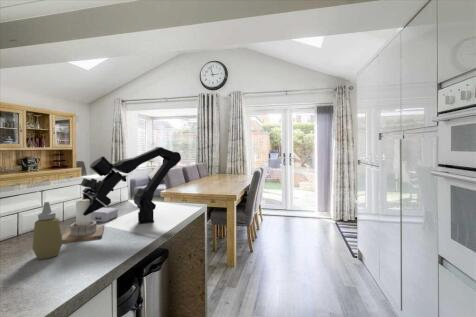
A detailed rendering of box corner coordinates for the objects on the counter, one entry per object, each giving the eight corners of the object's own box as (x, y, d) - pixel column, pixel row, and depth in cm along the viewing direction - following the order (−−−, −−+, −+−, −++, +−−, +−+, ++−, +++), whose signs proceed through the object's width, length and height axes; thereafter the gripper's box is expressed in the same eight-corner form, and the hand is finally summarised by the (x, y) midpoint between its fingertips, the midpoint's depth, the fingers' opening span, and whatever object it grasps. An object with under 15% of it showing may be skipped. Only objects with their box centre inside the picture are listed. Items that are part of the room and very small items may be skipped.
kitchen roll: (93, 230, 106) (92, 199, 106) (85, 234, 101) (84, 202, 101) (82, 229, 107) (81, 199, 106) (73, 233, 102) (72, 201, 101)
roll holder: (104, 227, 113) (104, 217, 113) (101, 238, 101) (101, 226, 100) (67, 231, 108) (66, 220, 107) (59, 243, 95) (59, 231, 95)
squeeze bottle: (43, 251, 88) (41, 199, 87) (67, 250, 89) (66, 199, 88) (26, 261, 80) (24, 205, 79) (53, 260, 81) (51, 204, 80)
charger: (124, 213, 137) (107, 222, 122) (108, 213, 138) (89, 221, 123) (124, 205, 137) (107, 212, 122) (108, 204, 138) (89, 211, 123)
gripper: (87, 169, 112) (58, 197, 105) (101, 172, 99) (69, 205, 92) (106, 185, 118) (80, 212, 111) (122, 190, 106) (94, 222, 98)
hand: (80, 212), depth 103 cm, fingers open, 9 cm apart
